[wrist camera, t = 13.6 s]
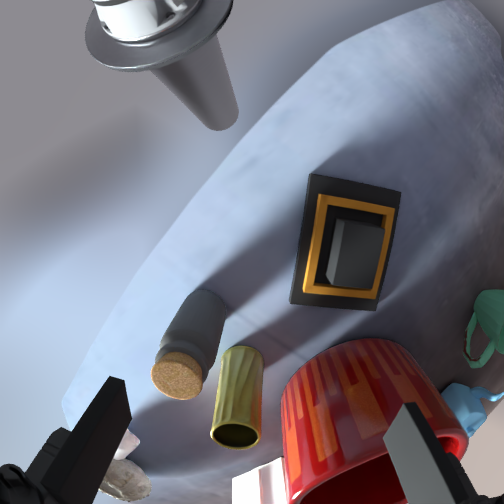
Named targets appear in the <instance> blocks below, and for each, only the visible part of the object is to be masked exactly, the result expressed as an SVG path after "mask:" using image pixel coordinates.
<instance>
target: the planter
mask: <svg viewBox="0 0 504 504" xmlns="http://www.w3.org/2000/svg"><path fill="white" fill-rule="evenodd" d="M408 402H416V403H417V405H418V406H419V408H420V410H421V411H422V413H423V415H424V416H425V418H426V420H427V421H428V423H429V425H430V426H431V428H432V430H433V432H434V433H435V435H436V437H437V438H438V440H439V442H440V444H441V445H442V447H443V449H444V451H445V453H448V452H451V453H452V454H454V455H455V456H456V457H457V458H458V460H459V462H460V460H461V459H462V457H463V456H464V454H465V452H466V450H467V447H468V444H469V437H468V434H467V432H466V430H465V429H464V427H463V426H462V424H461V423H460V421H459V420H458V418H457V417H456V415H455V414H454V412H453V411H452V409H451V408H450V407H449V405H448V404H447V402H446V401H445V399H444V398H443V397H442V395H441V394H440V392H439V391H438V390H437V388H436V387H435V386H434V384H433V383H432V382H431V380H430V379H429V378H428V376H427V375H426V374H425V372H424V371H423V370H422V368H421V367H420V366H419V364H418V363H417V362H416V361H415V359H414V358H413V357H412V355H411V354H410V353H409V352H408V351H407V350H406V349H405V348H404V347H403V346H401V345H399V344H398V343H396V342H393V341H390V340H387V339H380V338H363V339H357V340H352V341H348V342H345V343H341V344H339V345H336V346H334V347H331V348H329V349H327V350H325V351H323V352H321V353H320V354H318V355H316V356H315V357H313V358H312V359H310V360H309V361H307V362H306V363H305V364H304V365H303V366H302V367H301V368H299V369H298V371H297V372H296V373H295V374H294V375H293V376H292V377H291V379H290V380H289V382H288V383H287V385H286V387H285V389H284V391H283V394H282V398H281V403H280V407H281V424H282V438H283V451H284V465H285V479H286V492H287V504H407V503H408V501H407V499H406V496H405V493H404V491H403V488H402V485H401V483H400V480H399V477H398V475H397V472H396V470H395V467H394V465H393V462H392V460H391V457H390V455H389V452H388V450H387V447H386V445H385V442H384V440H383V437H384V435H385V434H386V432H387V430H388V429H389V427H390V426H391V424H392V422H393V421H394V419H395V417H396V416H397V414H398V412H399V410H400V409H401V407H402V405H403V403H408Z"/></svg>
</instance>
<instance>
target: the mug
mask: <svg viewBox="0 0 504 504" xmlns="http://www.w3.org/2000/svg"><path fill="white" fill-rule="evenodd" d="M477 322H479V323H480V325H481V327H482V329H483V331H484V332H485V333H486V335H487V336H488V337H489V339H490V340H491V341H490V342H489V344H488V346H487V347H486V349H485V351H484V352H483V353H482V354H481V355H480V356H479V357H478V358H477V359H473V358H472V357H471V356H470V337H471V335H472V333H473V331H474V329H475V327H476V324H477ZM495 349H496V350H497V351H498V352H499V353H500V354H504V290H498V289H494V290H484V291H482V292H481V293H480V294H479V295H478V297H477V298H476V301H475V303H474V313H473V315H472V317H471V320H470V322H469V324H468V326H467V328H466V330H465V337H464V346H463V355H464V357H465V358H466V360H467V361H468V363H469V365H470V366H471V368H480V367H483V365H484V364H485V363H486V362H487V361H488V360H489V358H490V357H491V355H492V354H493V352H494V351H495Z"/></svg>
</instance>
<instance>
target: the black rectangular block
mask: <svg viewBox="0 0 504 504" xmlns="http://www.w3.org/2000/svg"><path fill="white" fill-rule="evenodd" d="M384 235H385V229H384V228H382V227H379V226H377V225H374V224H371V223H365V222H360V221H354V220H348V219H342V218H336V217H335V219H334V225H333V231H332V237H331V242H330V248H329V253H328V259H327V264H326V269H325V275H326V277H327V278H328V280H329V281H330V282H331V284H332V285H336V286H345V287H355V288H365V289H372V288H373V284H374V280H375V276H376V272H377V268H378V263H379V259H380V254H381V250H382V245H383V240H384Z"/></svg>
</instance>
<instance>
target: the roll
mask: <svg viewBox="0 0 504 504" xmlns="http://www.w3.org/2000/svg"><path fill="white" fill-rule="evenodd" d="M139 443H140V440H139V439H138V438H137V437H136V436H135V435H134V434H133V433H131V432H130V431H129V430H128V428H127V430H126V432H125V434H124V436H123V438H122V440H121V442H120V445H119V447H118V449H117V451H116V453H115V455H114V457H113V459H116V460H121V459H124V458H125V457H126V456H127V455H128V454H129V453H130V452H132V451H133V450H134V449H135V448H136V447H137V446H138V445H139Z"/></svg>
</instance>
